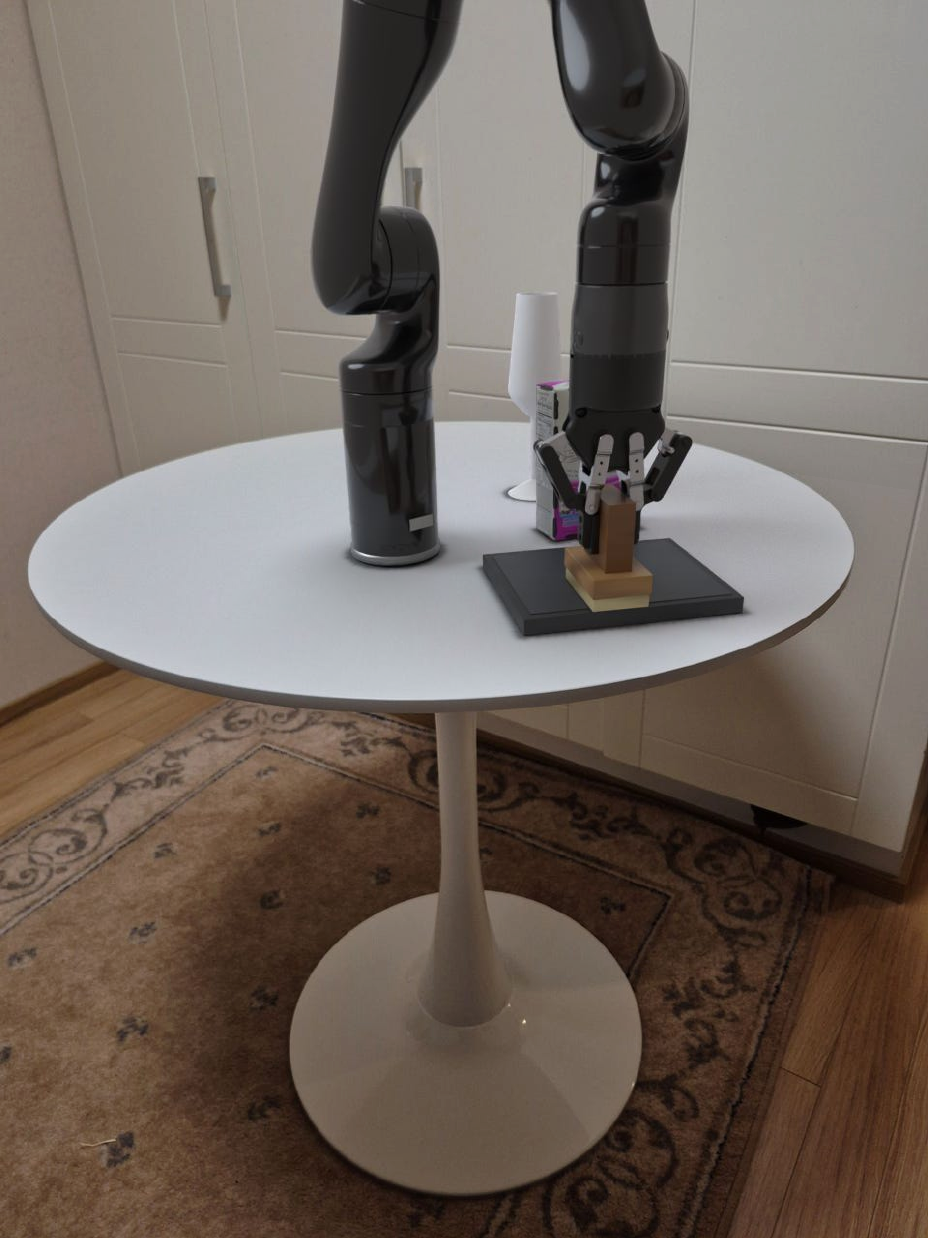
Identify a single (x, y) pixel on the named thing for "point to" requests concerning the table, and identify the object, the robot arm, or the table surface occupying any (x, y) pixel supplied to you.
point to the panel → (555, 606)
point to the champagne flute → (533, 364)
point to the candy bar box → (549, 422)
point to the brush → (611, 560)
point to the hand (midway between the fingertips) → (607, 549)
